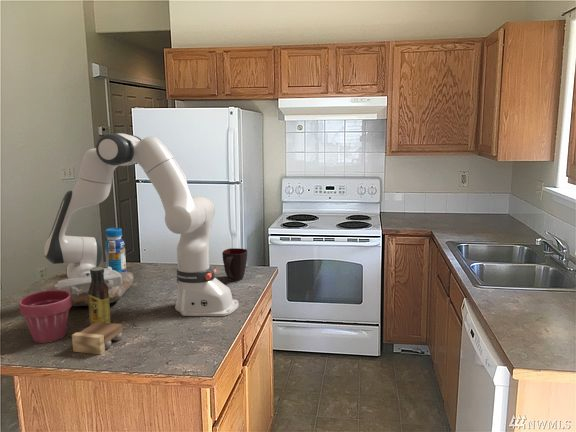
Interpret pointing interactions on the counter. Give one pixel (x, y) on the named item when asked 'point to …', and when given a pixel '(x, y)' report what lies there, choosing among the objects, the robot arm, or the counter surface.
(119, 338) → the roller board
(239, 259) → the cup
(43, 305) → the plant pot
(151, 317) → the counter surface
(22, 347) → the counter surface
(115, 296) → the stone slab
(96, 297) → the sauce bottle
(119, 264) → the beverage bottle
